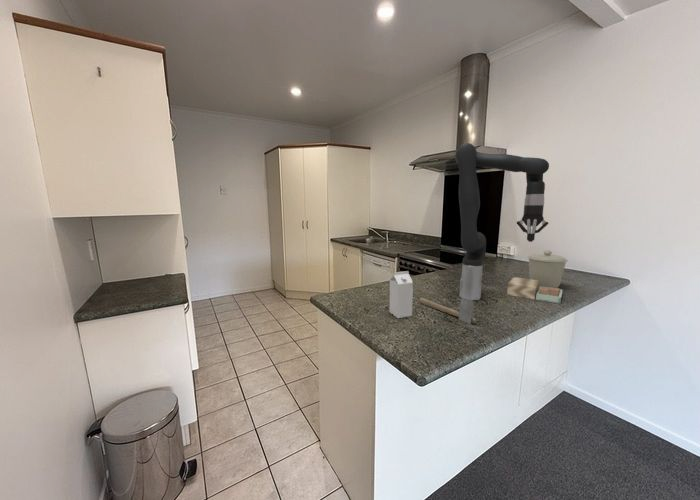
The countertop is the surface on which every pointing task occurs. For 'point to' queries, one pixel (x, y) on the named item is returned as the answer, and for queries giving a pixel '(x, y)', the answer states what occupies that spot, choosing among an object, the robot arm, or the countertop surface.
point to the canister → (546, 268)
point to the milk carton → (401, 294)
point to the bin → (549, 296)
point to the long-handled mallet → (464, 314)
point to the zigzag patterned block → (523, 287)
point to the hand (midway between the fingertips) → (530, 241)
